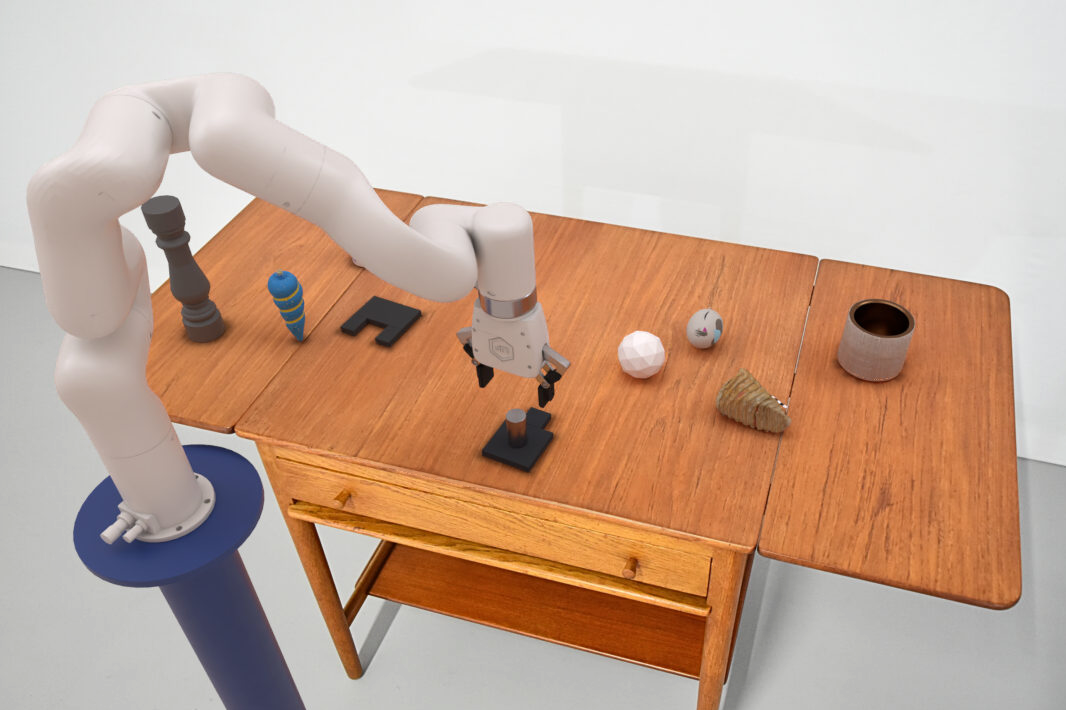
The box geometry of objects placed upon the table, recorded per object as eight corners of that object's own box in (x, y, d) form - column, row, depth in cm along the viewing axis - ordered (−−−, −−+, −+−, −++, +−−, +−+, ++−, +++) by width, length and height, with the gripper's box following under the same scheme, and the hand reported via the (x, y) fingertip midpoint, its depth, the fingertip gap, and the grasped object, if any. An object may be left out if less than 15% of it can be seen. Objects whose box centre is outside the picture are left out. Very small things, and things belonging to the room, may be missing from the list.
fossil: (719, 386, 147) (709, 417, 140) (729, 358, 143) (719, 388, 136) (790, 410, 146) (783, 442, 139) (801, 382, 142) (795, 414, 135)
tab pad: (528, 472, 132) (527, 441, 128) (481, 455, 135) (478, 424, 130) (564, 423, 140) (563, 391, 136) (519, 407, 143) (517, 376, 138)
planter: (824, 348, 154) (835, 304, 148) (880, 337, 157) (893, 292, 150) (856, 389, 147) (869, 344, 140) (914, 376, 149) (929, 331, 143)
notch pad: (389, 348, 153) (388, 342, 152) (341, 331, 156) (340, 326, 155) (421, 315, 160) (421, 310, 159) (375, 300, 163) (374, 295, 162)
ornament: (307, 351, 152) (287, 279, 142) (279, 348, 153) (257, 275, 142) (319, 332, 156) (301, 260, 145) (291, 329, 156) (271, 257, 146)
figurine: (712, 363, 151) (716, 332, 146) (678, 354, 153) (681, 323, 148) (726, 336, 156) (730, 305, 152) (693, 327, 158) (696, 297, 153)
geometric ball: (630, 378, 152) (620, 332, 151) (675, 371, 149) (665, 323, 148) (616, 386, 145) (606, 337, 144) (663, 378, 142) (653, 329, 141)
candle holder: (179, 337, 154) (129, 209, 137) (204, 316, 158) (159, 191, 141) (208, 346, 153) (161, 218, 136) (233, 325, 157) (190, 199, 140)
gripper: (436, 294, 117) (450, 390, 129) (554, 329, 112) (558, 426, 124) (465, 264, 122) (477, 359, 134) (580, 296, 117) (581, 393, 128)
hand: (516, 391), depth 129 cm, fingers open, 9 cm apart
